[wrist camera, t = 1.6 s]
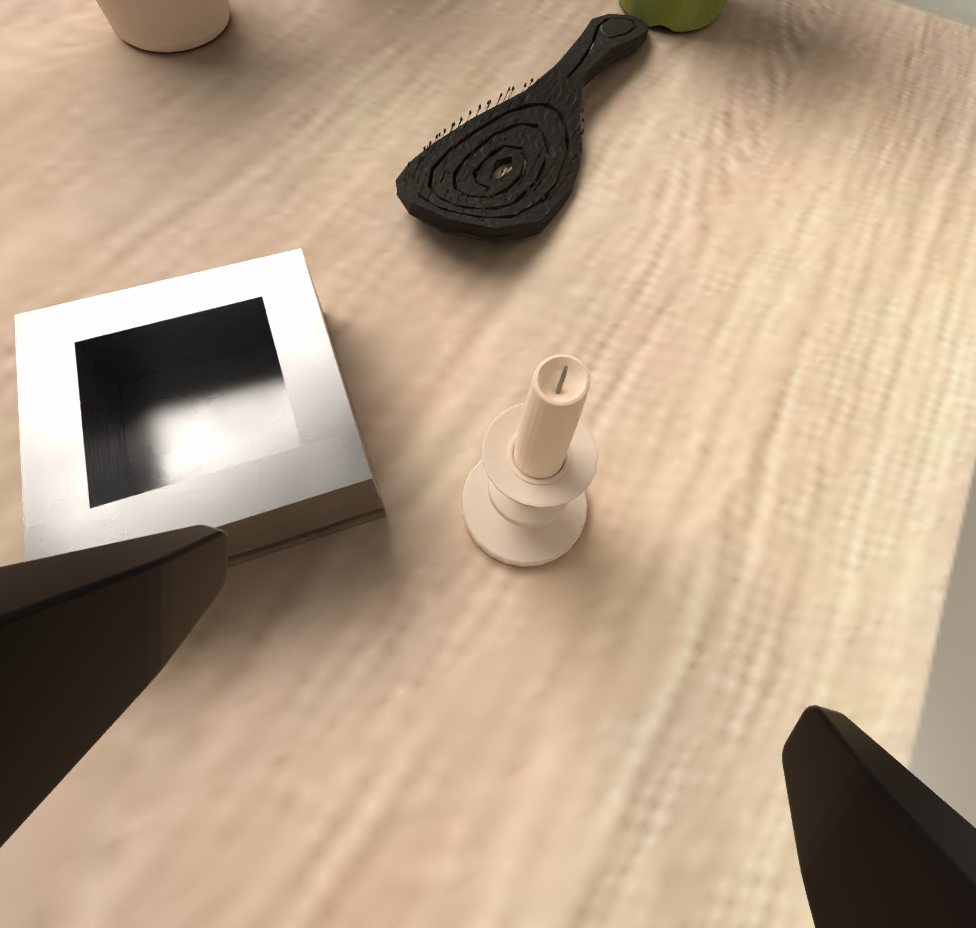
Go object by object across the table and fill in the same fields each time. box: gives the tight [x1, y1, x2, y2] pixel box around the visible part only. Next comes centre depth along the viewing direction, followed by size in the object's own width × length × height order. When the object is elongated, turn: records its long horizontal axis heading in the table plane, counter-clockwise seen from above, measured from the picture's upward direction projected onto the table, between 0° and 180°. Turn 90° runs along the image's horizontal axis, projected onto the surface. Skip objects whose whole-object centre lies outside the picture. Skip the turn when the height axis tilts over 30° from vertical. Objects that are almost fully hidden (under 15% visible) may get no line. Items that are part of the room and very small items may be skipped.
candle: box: [462, 354, 598, 567], centre depth 18 cm, size 5×5×10 cm
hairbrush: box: [396, 14, 648, 242], centre depth 32 cm, size 8×4×25 cm
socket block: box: [14, 248, 386, 567], centre depth 22 cm, size 11×11×4 cm
